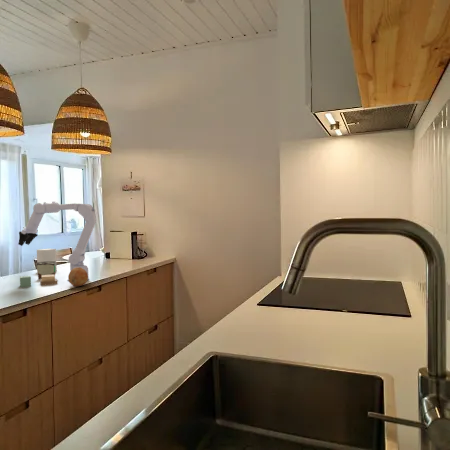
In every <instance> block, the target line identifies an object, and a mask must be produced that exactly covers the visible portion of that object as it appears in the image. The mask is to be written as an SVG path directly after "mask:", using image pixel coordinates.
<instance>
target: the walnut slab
mask: <svg viewBox="0 0 450 450" xmlns="http://www.w3.org/2000/svg"><path fill="white" fill-rule="evenodd" d="M39 281H40V284H39V285H40V286H50V285H58V284H59V283H58V279H57V278H56V277H55V281H45V282H42V279H39Z"/></svg>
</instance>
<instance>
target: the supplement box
mask: <svg viewBox="0 0 450 450" xmlns="http://www.w3.org/2000/svg"><path fill="white" fill-rule="evenodd" d="M44 261H55V262H56V263H57V250H56V248H39V249H36V262H44ZM57 269H58V268H57V266H56V268H55V272H57Z"/></svg>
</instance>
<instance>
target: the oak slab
mask: <svg viewBox="0 0 450 450" xmlns="http://www.w3.org/2000/svg"><path fill="white" fill-rule="evenodd" d="M41 277H42V279H41V280H42V282H45V281H55V278H56V274H55V275H54V274H53V275H41Z"/></svg>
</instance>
